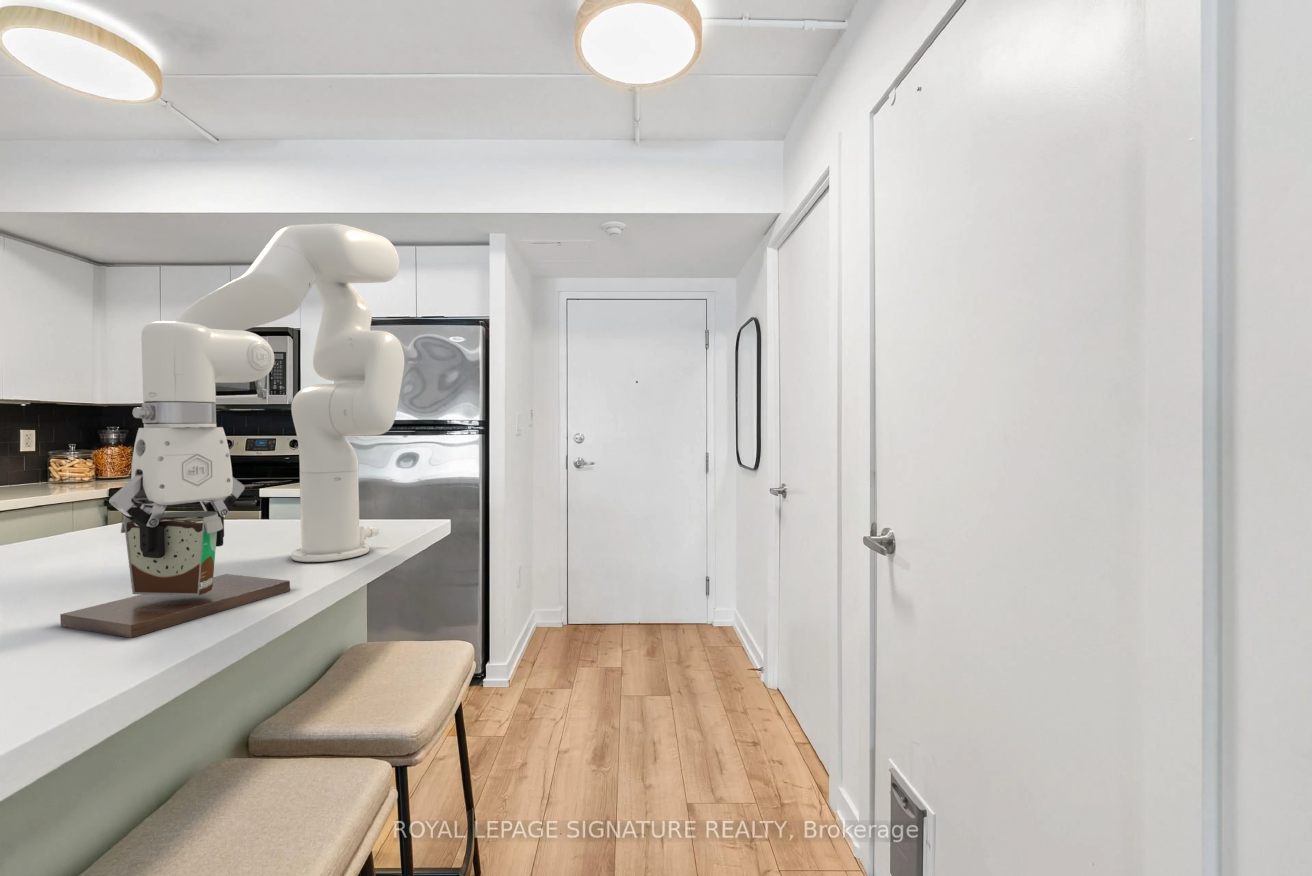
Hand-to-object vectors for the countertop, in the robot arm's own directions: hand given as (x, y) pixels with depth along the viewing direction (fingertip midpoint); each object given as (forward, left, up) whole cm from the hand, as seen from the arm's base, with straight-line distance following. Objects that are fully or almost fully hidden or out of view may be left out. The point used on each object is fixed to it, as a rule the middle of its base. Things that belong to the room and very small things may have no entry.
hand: (184, 549), depth 79 cm
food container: (0, 0, -5) cm, 5 cm away
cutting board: (0, 0, -8) cm, 8 cm away
